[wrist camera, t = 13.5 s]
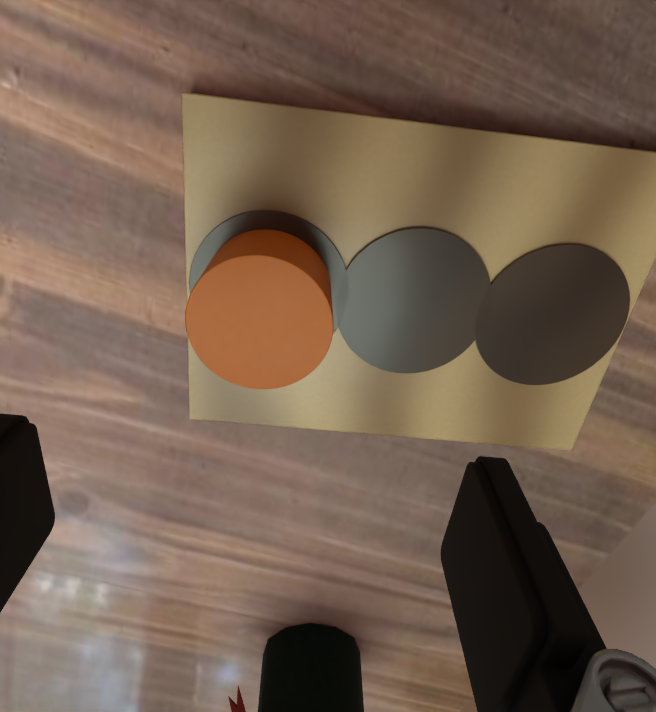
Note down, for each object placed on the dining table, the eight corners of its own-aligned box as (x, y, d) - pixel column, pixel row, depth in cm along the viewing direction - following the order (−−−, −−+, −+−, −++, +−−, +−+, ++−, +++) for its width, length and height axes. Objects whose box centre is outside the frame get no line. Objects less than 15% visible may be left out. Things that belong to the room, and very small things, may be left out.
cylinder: (338, 236, 22) (342, 263, 19) (324, 353, 25) (325, 395, 21) (204, 222, 22) (183, 246, 18) (205, 342, 25) (186, 383, 21)
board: (676, 154, 22) (702, 158, 21) (560, 434, 30) (573, 452, 28) (190, 92, 21) (179, 92, 19) (195, 404, 28) (188, 421, 27)
